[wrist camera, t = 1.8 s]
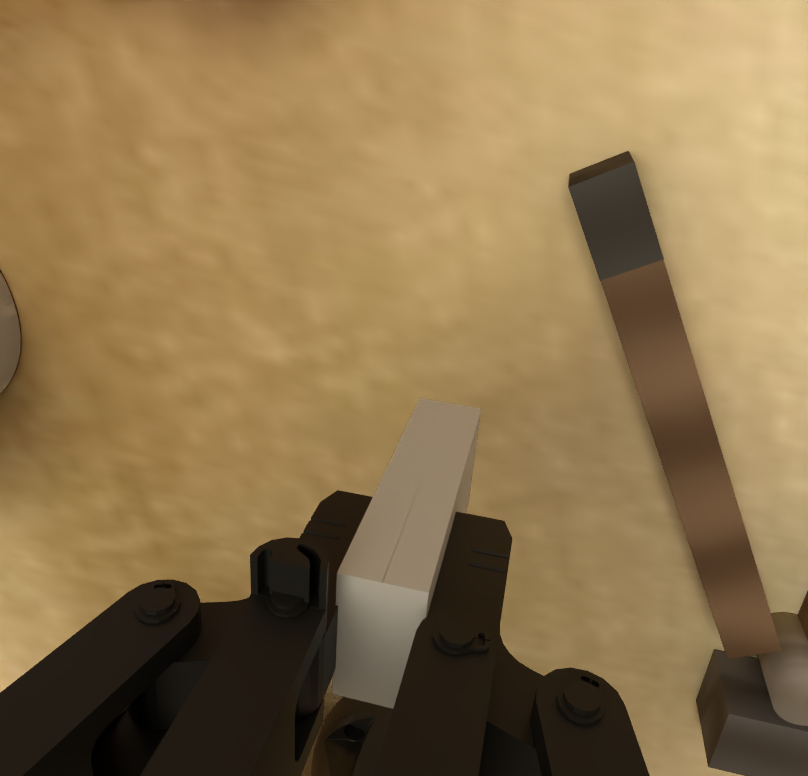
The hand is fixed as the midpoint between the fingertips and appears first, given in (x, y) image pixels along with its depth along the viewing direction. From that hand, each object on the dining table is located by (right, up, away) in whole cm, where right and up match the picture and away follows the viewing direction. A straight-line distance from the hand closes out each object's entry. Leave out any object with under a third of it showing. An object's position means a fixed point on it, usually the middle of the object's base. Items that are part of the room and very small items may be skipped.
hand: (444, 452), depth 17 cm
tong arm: (+12, +1, +17) cm, 21 cm away
